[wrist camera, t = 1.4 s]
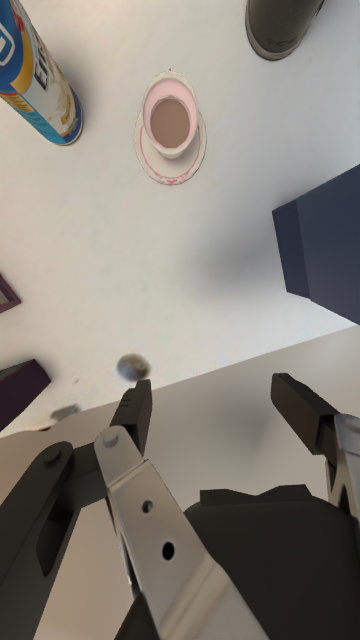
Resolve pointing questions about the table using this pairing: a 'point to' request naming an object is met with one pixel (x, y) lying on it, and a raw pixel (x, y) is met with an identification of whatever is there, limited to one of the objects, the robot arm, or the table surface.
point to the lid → (333, 243)
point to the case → (291, 249)
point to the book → (7, 297)
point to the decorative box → (20, 389)
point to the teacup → (170, 130)
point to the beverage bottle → (35, 79)
